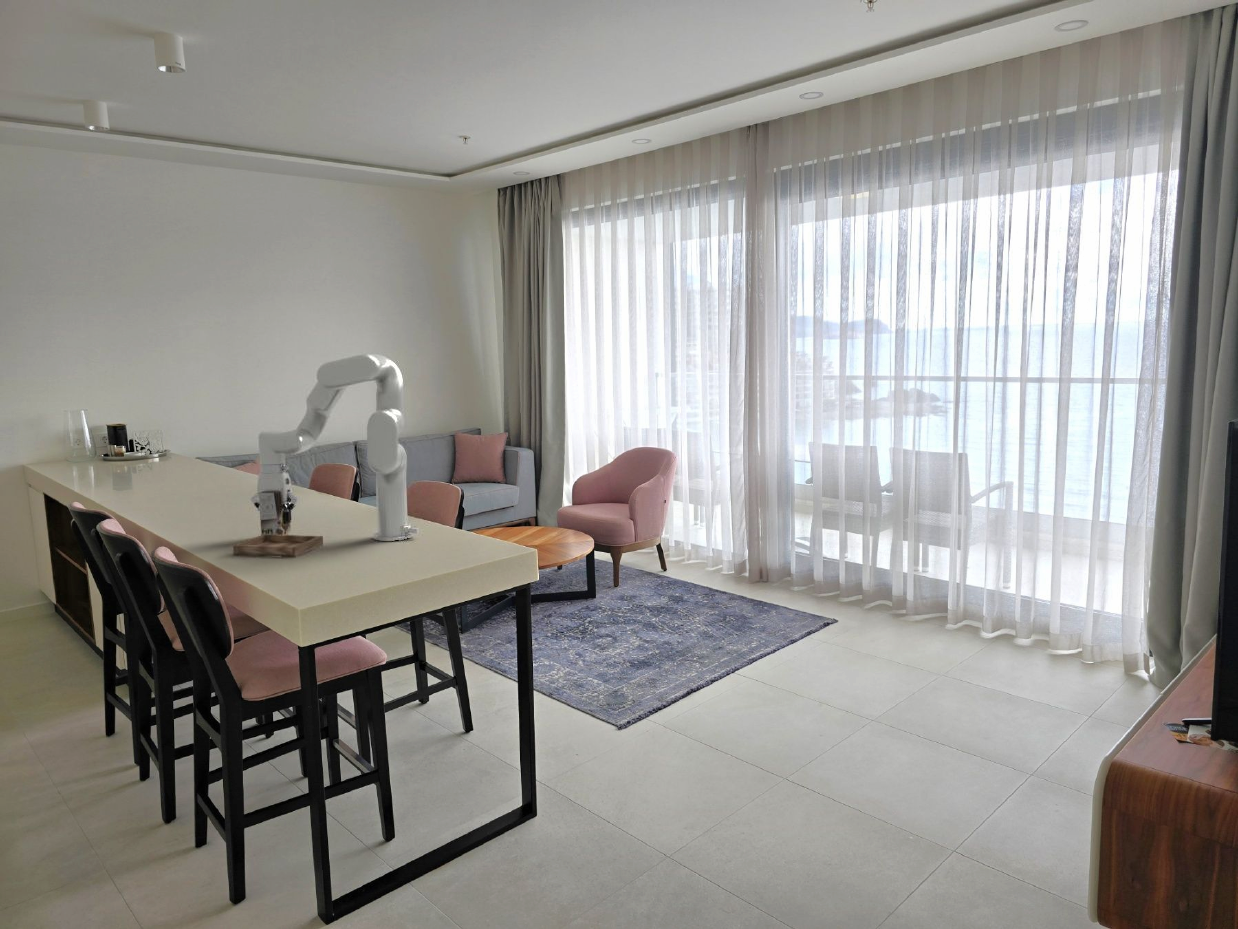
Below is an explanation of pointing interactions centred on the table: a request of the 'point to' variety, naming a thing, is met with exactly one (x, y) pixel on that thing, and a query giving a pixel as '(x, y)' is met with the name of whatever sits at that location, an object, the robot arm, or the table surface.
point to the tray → (278, 545)
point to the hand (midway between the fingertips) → (276, 522)
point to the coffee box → (272, 514)
